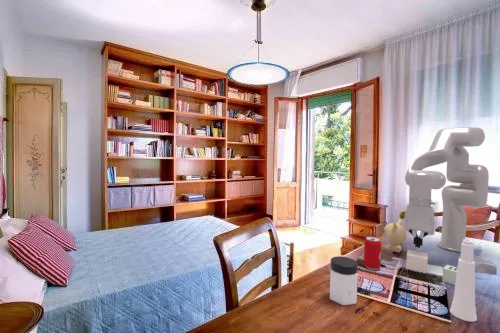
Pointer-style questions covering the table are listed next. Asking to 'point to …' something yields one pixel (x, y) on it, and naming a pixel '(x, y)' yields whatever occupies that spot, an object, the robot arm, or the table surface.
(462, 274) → the cosmetic bottle
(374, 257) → the beverage can
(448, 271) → the sage cube
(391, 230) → the kitten
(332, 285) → the jar
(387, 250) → the walnut cube
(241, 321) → the table surface
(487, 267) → the stone block
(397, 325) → the table surface
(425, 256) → the cream block
